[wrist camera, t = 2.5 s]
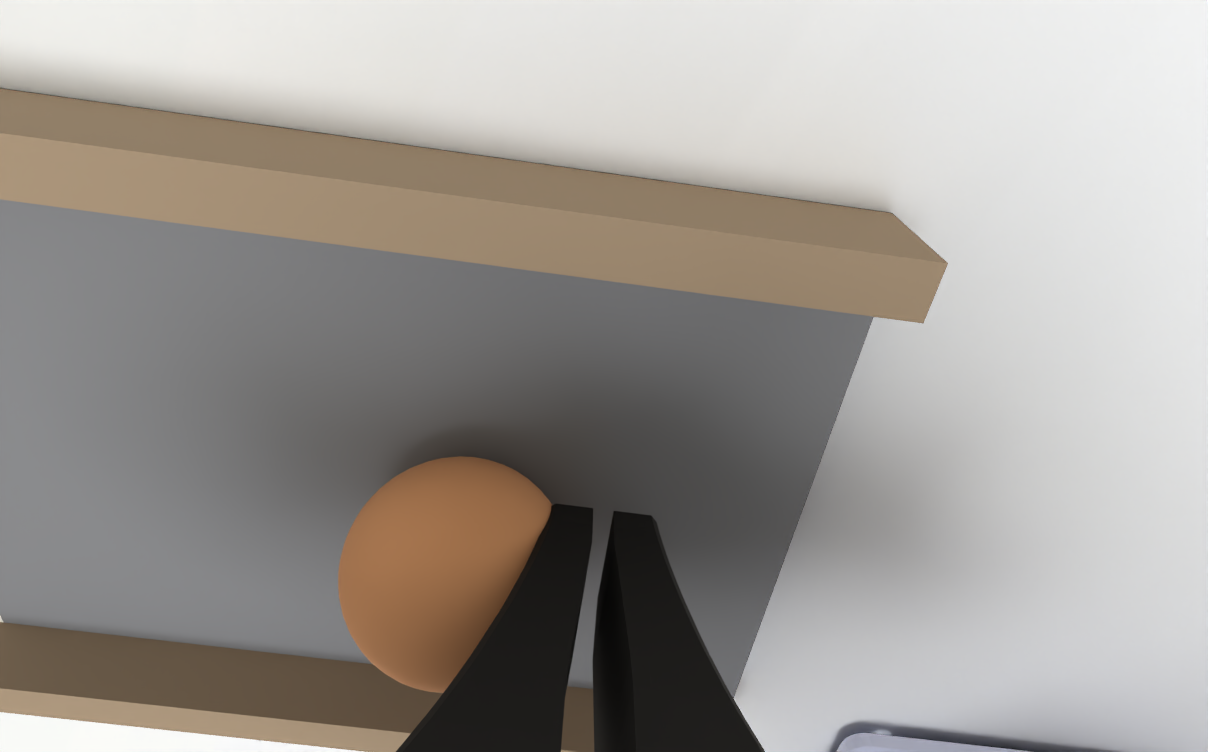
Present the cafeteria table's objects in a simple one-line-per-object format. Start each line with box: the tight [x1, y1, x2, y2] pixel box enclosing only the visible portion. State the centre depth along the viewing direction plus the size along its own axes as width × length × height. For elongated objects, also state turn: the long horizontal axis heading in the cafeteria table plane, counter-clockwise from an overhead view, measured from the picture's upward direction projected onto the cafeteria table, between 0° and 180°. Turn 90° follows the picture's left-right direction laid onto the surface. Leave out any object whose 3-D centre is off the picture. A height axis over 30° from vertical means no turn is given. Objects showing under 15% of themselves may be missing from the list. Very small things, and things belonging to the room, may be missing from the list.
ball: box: [338, 456, 552, 693], centre depth 11 cm, size 4×4×4 cm
